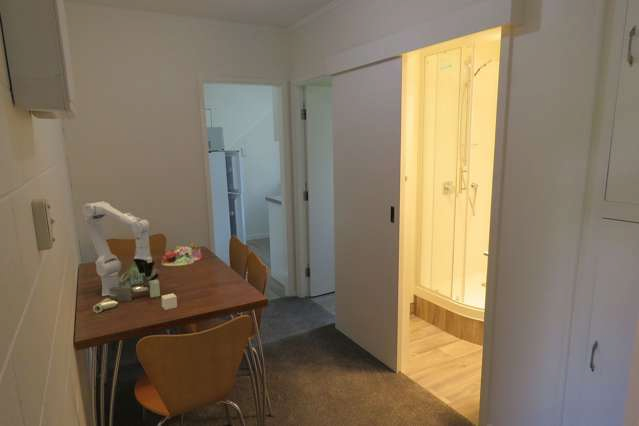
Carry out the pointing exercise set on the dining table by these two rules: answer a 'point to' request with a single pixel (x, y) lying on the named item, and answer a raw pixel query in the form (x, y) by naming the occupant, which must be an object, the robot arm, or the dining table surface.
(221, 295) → the dining table surface
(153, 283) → the socket block
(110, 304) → the pipe fitting
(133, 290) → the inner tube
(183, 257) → the toy food platter
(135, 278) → the tree stump
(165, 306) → the cream white cube
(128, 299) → the grey boxy piece
